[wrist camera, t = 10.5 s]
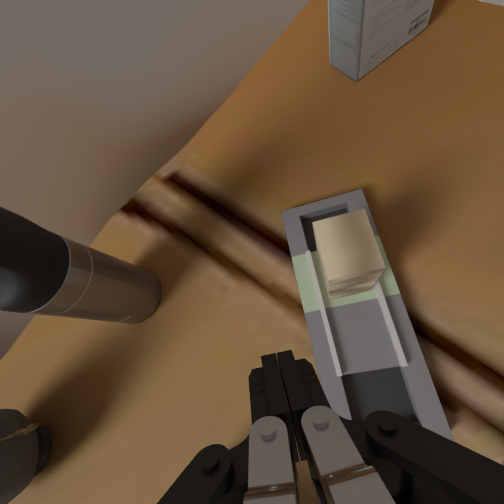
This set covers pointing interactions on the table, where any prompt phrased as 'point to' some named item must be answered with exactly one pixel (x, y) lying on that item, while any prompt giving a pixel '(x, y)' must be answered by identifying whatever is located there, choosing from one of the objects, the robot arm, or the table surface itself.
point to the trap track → (361, 331)
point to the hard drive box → (372, 31)
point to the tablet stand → (494, 2)
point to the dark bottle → (20, 452)
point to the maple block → (348, 254)
